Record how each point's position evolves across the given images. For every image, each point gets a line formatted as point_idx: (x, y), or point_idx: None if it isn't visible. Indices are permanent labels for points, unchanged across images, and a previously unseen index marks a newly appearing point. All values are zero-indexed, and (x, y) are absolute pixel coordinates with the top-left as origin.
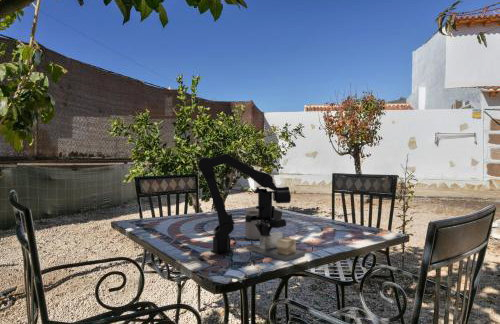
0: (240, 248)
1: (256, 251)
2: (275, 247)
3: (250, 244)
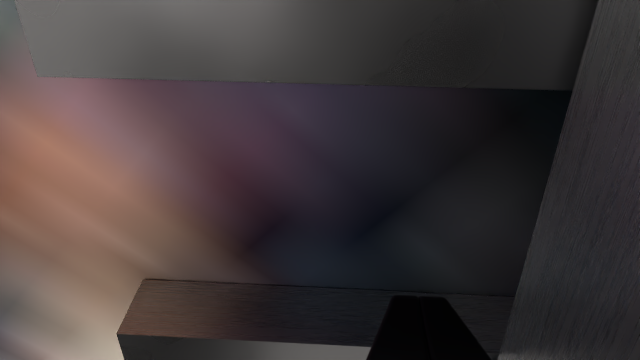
0: (69, 352)
1: None
2: None
3: (132, 336)
